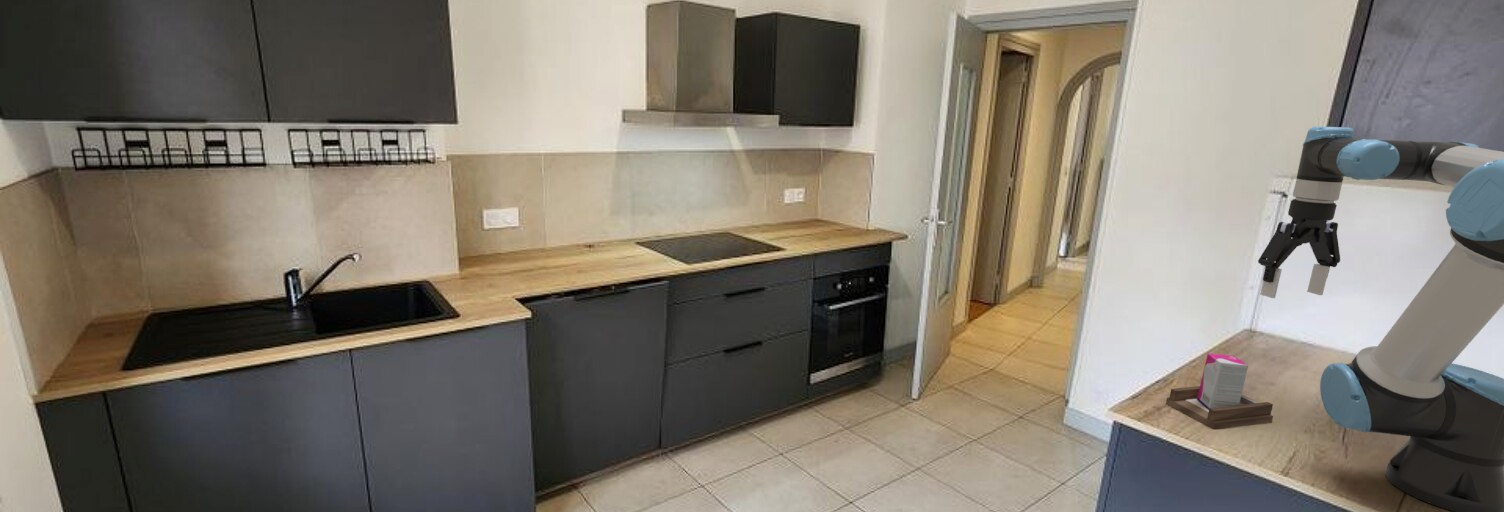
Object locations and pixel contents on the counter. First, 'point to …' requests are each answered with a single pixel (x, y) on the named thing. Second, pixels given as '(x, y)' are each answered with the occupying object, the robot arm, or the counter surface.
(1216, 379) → the supplement box
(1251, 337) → the counter surface
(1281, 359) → the counter surface
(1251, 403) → the brown wooden tray
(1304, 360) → the counter surface
